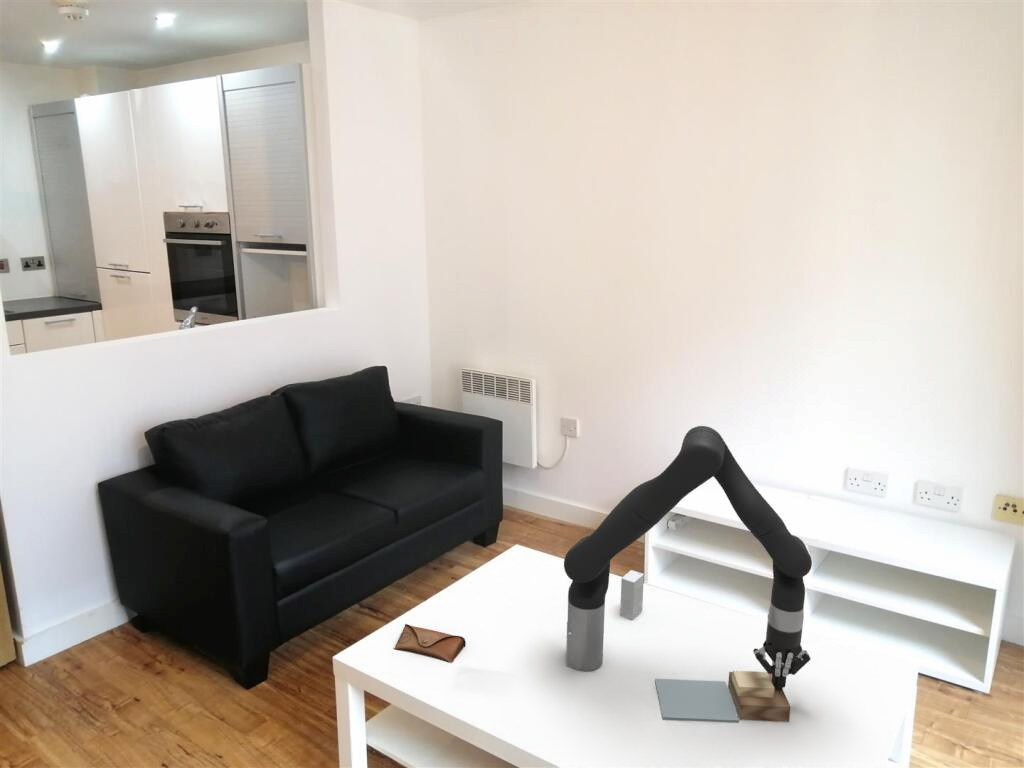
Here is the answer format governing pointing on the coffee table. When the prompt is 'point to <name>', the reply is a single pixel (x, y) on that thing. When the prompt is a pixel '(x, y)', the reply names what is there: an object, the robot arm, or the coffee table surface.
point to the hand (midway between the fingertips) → (778, 687)
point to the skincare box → (631, 594)
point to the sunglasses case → (430, 643)
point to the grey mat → (695, 700)
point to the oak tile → (753, 684)
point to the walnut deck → (761, 705)
